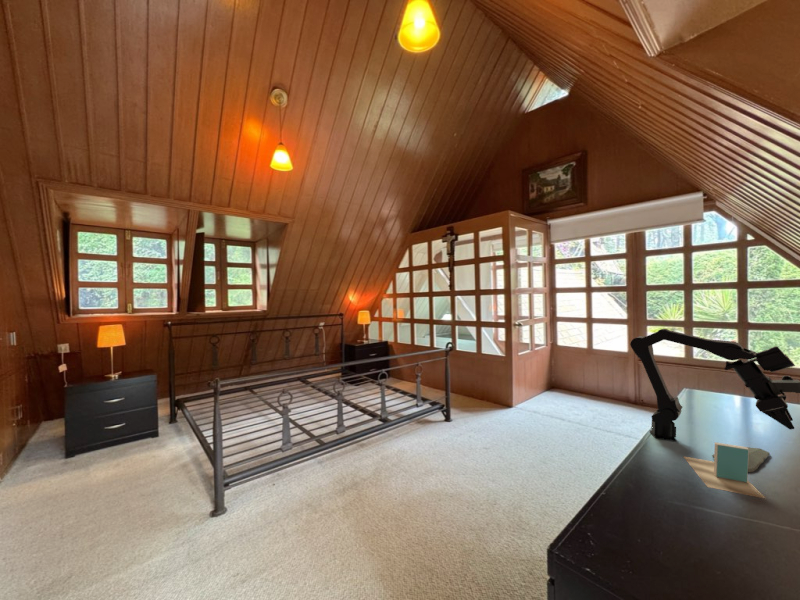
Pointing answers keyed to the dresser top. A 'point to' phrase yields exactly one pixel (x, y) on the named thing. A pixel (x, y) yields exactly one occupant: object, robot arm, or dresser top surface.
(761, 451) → the stone slab
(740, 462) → the glazed tile
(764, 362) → the robot arm
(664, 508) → the dresser top surface
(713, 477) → the tan wooden board
